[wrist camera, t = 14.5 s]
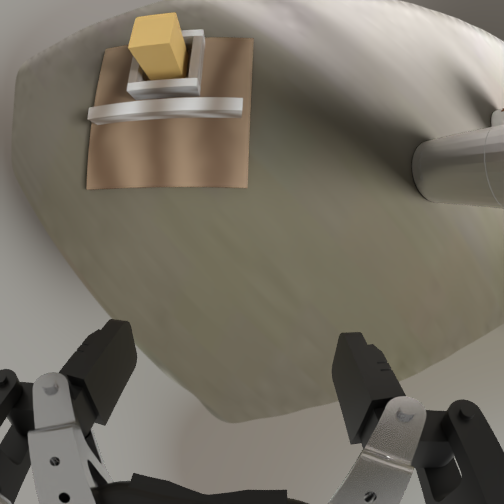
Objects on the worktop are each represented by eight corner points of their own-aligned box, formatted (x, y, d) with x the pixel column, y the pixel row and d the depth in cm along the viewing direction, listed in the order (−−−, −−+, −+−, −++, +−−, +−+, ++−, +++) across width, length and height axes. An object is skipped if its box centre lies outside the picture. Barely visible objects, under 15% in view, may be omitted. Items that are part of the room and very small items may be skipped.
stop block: (188, 56, 28) (175, 12, 19) (185, 82, 29) (169, 43, 19) (157, 58, 28) (136, 17, 18) (153, 84, 29) (127, 48, 19)
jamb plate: (253, 42, 29) (255, 24, 25) (247, 188, 33) (249, 186, 28) (108, 51, 28) (96, 37, 24) (90, 189, 31) (72, 189, 27)
